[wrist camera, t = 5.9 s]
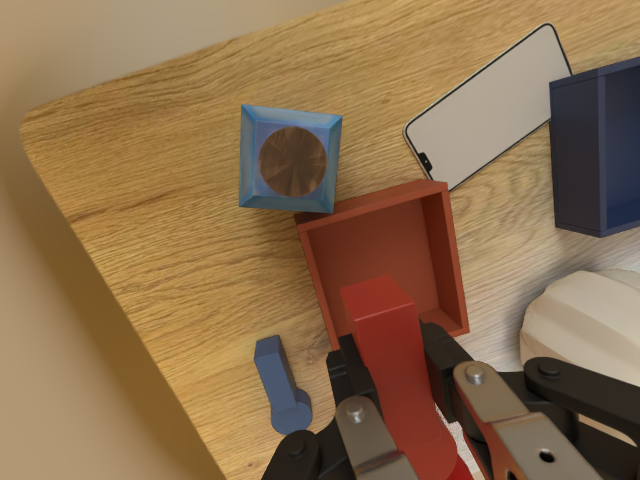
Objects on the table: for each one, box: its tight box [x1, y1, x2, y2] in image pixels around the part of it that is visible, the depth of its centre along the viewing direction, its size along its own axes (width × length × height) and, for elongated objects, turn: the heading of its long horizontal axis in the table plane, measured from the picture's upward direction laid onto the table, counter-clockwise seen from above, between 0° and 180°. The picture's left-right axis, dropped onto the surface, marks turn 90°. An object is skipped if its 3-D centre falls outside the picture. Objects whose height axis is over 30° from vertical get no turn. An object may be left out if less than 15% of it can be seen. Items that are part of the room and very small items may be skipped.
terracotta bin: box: [294, 179, 470, 351], centre depth 27 cm, size 13×12×4 cm
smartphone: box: [403, 22, 573, 193], centre depth 27 cm, size 7×1×15 cm
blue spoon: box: [254, 335, 312, 435], centre depth 30 cm, size 10×4×3 cm, turn 15°
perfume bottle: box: [239, 104, 343, 213], centre depth 20 cm, size 6×6×12 cm
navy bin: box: [549, 57, 640, 238], centre depth 27 cm, size 13×12×4 cm
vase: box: [520, 269, 640, 447], centre depth 27 cm, size 14×14×13 cm
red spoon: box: [339, 274, 457, 480], centre depth 13 cm, size 10×4×3 cm, turn 15°
